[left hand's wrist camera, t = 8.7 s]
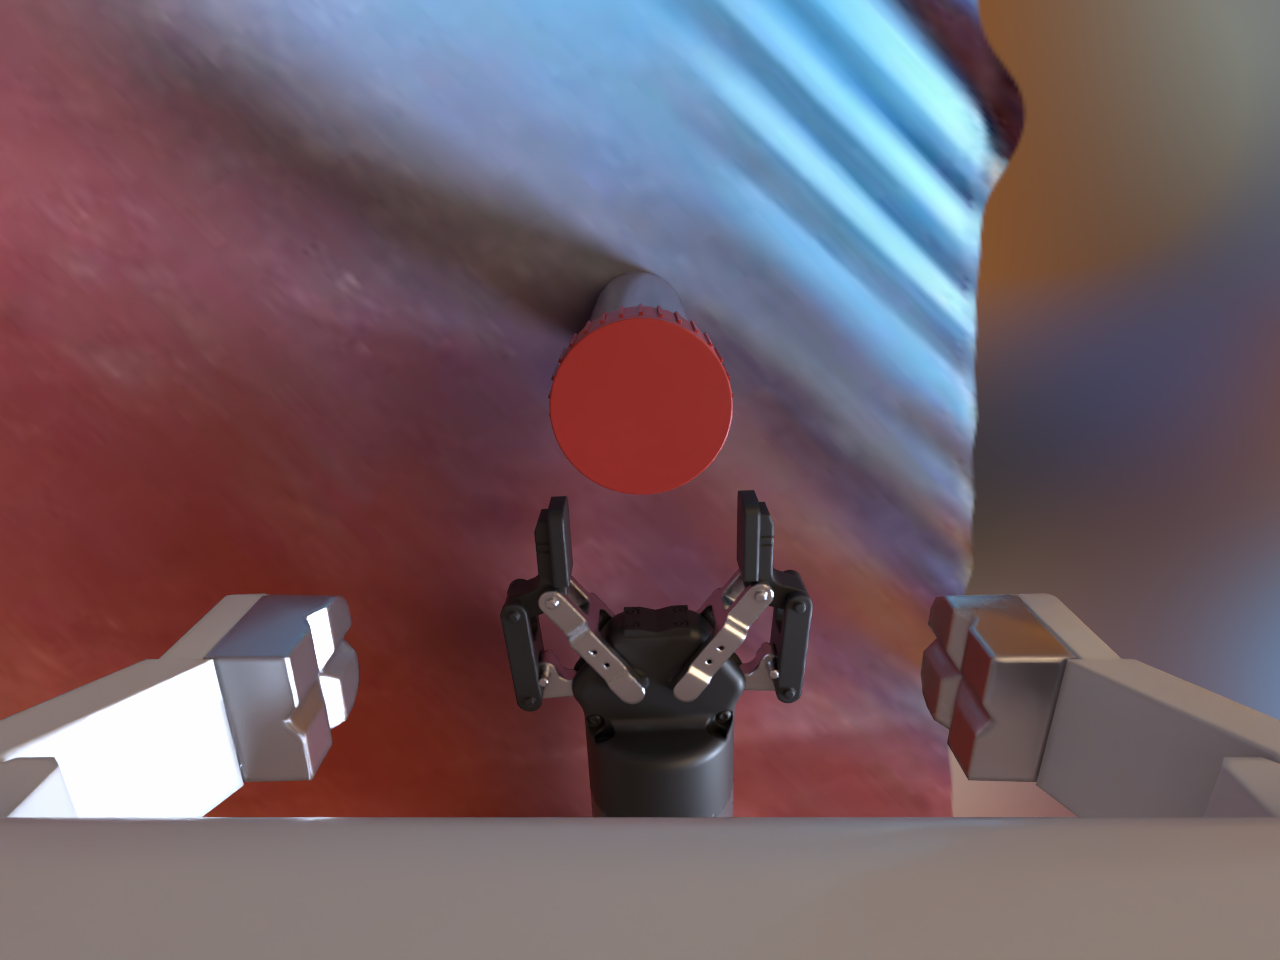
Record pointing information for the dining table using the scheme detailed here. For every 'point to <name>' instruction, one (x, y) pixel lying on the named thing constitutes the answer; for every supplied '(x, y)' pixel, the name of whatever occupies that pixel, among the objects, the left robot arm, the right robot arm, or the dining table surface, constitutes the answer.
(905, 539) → the dining table surface
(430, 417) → the dining table surface
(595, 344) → the lid
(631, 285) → the bottle
